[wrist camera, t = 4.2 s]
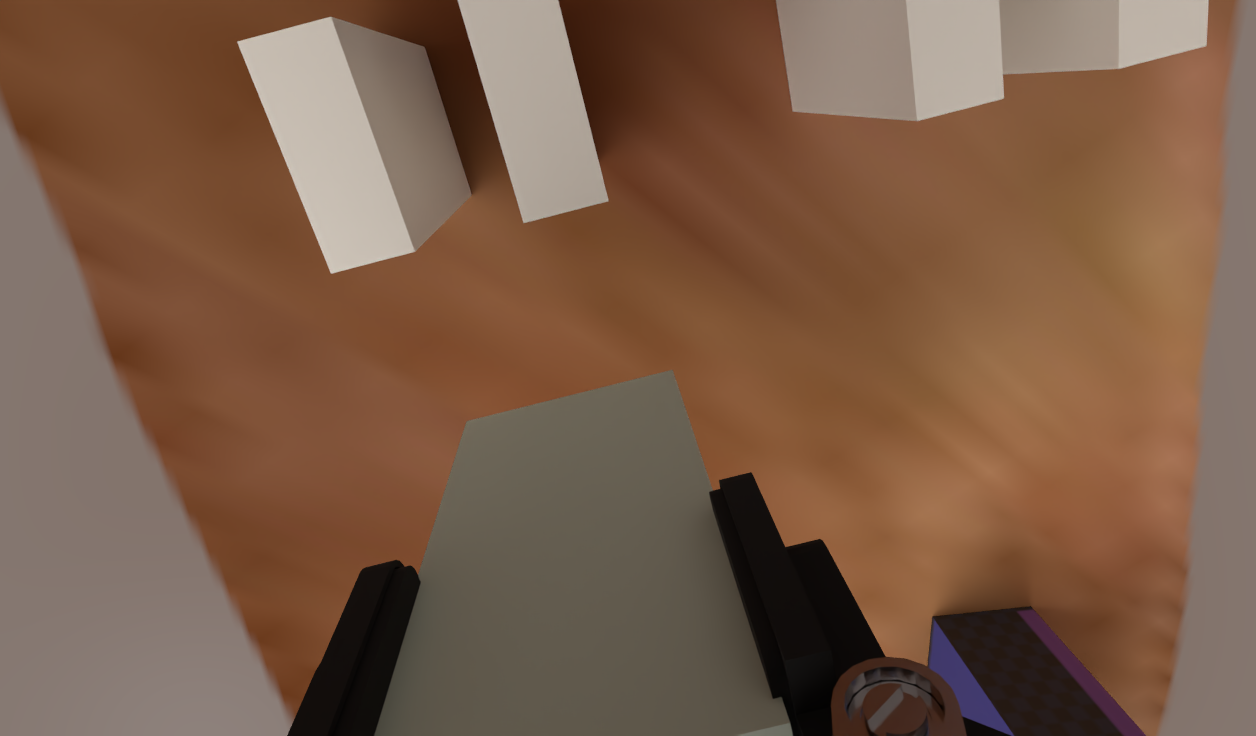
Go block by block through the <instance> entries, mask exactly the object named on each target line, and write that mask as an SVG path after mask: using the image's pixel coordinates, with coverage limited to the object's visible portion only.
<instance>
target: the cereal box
mask: <svg viewBox="0 0 1256 736" xmlns="http://www.w3.org/2000/svg"><path fill="white" fill-rule="evenodd" d="M927 667H928V668H930V669H931V670H933V671H934V672H936V673H938V674H939V675H940V676H941V677H942V678H943V679H944V680H945V681H946V682H947V683H948V684H949V685H950V686H951V688H952V689H953V691H954V694H955V696H956V698H957V700H958V702H959V706H960V710H961V714H962V716H963V717H966V718H968V719H971V720H973V721H976V722H978V723H981V724H983V725H986V726H988V727H991V728H993V729H996V730H998V731H1001V732H1004V733H1006V734H1009V735H1011V736H1146V735H1145V734H1144V733H1143V732H1142V730H1141V729H1140V728H1139V727H1138V726H1137V725H1136V724H1135V723H1134V722H1133V720H1132V719H1131V718H1130V717H1129V716H1128V715H1127V714H1126V713H1125V711H1124V710H1123V709H1122V708H1121V707H1120V706H1119V705H1118V704H1117V702H1116V701H1115V700H1114V699H1113V698H1112V697H1111V696H1110V695H1109V694H1108V692H1107V691H1106V690H1105V689H1104V688H1103V687H1102V686H1101V685H1100V683H1099V682H1098V681H1097V680H1096V679H1095V678H1094V677H1093V676H1092V674H1091V673H1090V672H1089V671H1088V670H1087V669H1086V668H1085V667H1084V666H1083V664H1082V663H1081V662H1080V661H1079V660H1078V659H1077V658H1076V657H1075V655H1074V654H1073V653H1072V652H1071V651H1070V650H1069V649H1068V648H1067V646H1066V645H1065V644H1064V643H1063V642H1062V641H1061V640H1060V639H1059V638H1058V636H1057V635H1056V634H1055V633H1054V632H1053V631H1052V630H1051V629H1050V627H1049V626H1048V625H1047V624H1046V623H1045V622H1044V621H1043V620H1042V618H1041V617H1040V616H1039V615H1038V614H1037V613H1036V612H1035V611H1034V610H1033V608H1032V607H1031V606H1030V607H1020V608H1011V609H1001V610H992V611H982V612H973V613H963V614H954V615H944V616H935V617H932V626H931V636H930V646H929V656H928V665H927Z"/></svg>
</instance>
